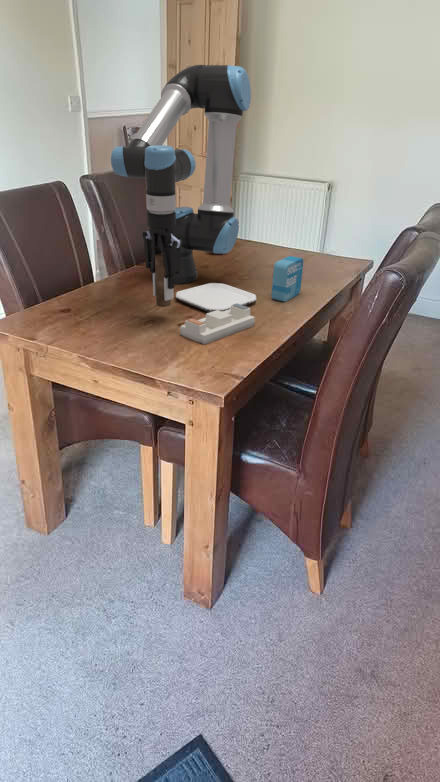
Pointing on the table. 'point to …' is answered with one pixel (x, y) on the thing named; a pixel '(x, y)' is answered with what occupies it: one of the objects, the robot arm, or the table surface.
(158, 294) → the dowel
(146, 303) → the table surface
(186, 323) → the socket block
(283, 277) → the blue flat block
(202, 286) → the plate
